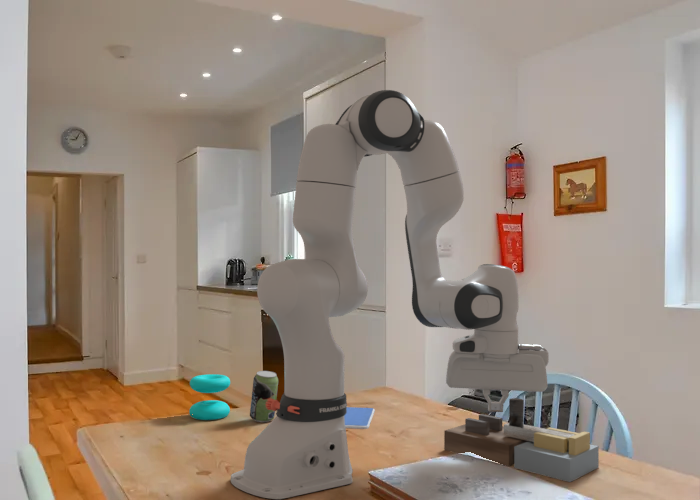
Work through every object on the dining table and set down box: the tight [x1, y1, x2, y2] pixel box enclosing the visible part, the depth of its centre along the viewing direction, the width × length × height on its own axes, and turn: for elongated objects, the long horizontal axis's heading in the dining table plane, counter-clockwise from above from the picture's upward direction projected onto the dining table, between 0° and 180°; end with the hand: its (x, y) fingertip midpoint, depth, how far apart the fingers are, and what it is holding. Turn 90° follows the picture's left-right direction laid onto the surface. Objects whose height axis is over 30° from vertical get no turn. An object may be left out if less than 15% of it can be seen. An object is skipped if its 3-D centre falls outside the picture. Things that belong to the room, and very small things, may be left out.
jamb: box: [443, 413, 528, 467], centre depth 128 cm, size 12×15×6 cm
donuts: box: [188, 373, 231, 421], centre depth 157 cm, size 10×10×10 cm
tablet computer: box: [344, 406, 376, 430], centre depth 156 cm, size 19×13×1 cm, turn 173°
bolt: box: [503, 397, 574, 450], centre depth 121 cm, size 3×14×7 cm, turn 45°
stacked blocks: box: [513, 427, 600, 483], centre depth 118 cm, size 12×11×7 cm
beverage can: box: [249, 370, 279, 423], centre depth 153 cm, size 6×7×12 cm
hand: (495, 411), depth 128 cm, fingers closed
